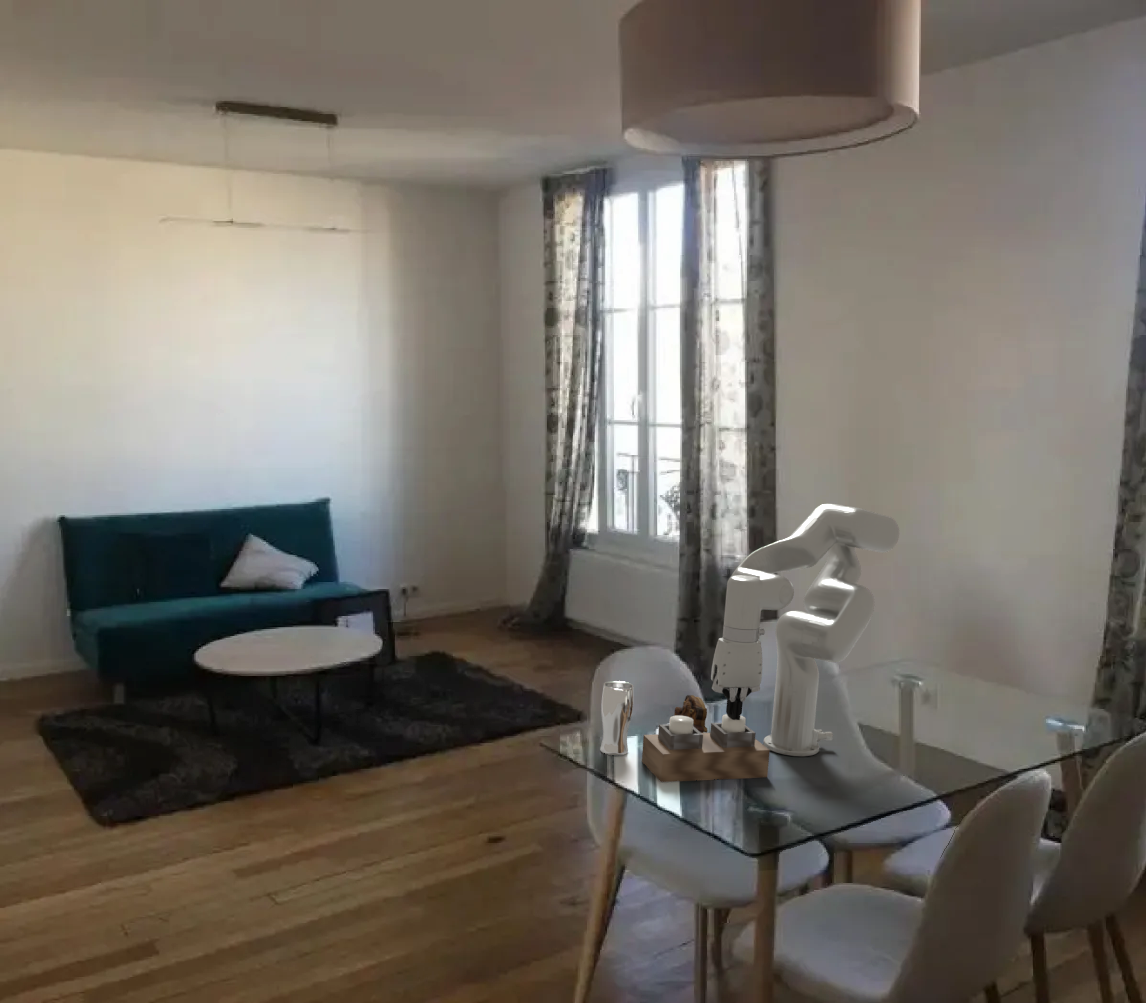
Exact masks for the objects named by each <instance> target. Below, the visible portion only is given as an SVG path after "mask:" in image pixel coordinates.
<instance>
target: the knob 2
mask: <svg viewBox="0 0 1146 1003" xmlns="http://www.w3.org/2000/svg"><path fill="white" fill-rule="evenodd" d="M746 720H747V719H746V717H745V716H743V715H742V714H741V715H740V720H737V719H735V720H732V719H731V718H730V717H728V716H727V713H726V714H723V715H722V717H721V723H722V726H721V729H723V730H724V731H725V732H726V733H730V732H745V725H746Z"/></svg>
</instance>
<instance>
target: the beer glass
mask: <svg viewBox="0 0 1146 1003" xmlns="http://www.w3.org/2000/svg"><path fill="white" fill-rule="evenodd" d="M600 707H601V708H600V709H601V721H602V722H601V723H602V733H603V734H602V741H601V744H600V745H601V746H600V748H599V749H600V752H601V753H602V754H604V753H605V755H607V754H608V756H612V755H617V756H616V757H619V756H618V755H622V756H625V755H627V754H628V753H629V747H628V732H629V728H630V724H631V719H632V715H633V710H634V685H633V684H632V683H629V682H626V681H620V680H619V681H617V680H613V681H605V682H604V683H603V689H602V697H601V705H600ZM624 754H625V755H624Z"/></svg>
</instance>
